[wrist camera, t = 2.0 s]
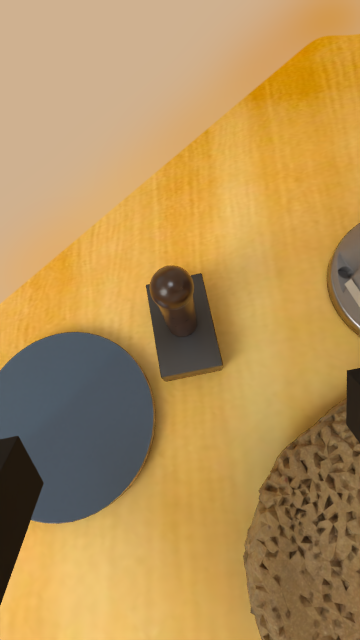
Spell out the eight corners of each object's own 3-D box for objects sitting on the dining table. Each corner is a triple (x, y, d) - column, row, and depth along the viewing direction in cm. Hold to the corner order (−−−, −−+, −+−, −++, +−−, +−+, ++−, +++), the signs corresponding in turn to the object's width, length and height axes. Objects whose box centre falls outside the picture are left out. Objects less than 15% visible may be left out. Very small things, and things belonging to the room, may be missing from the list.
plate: (86, 303, 39) (82, 299, 37) (193, 427, 33) (192, 427, 32) (-47, 412, 36) (-56, 412, 35) (44, 567, 30) (38, 572, 29)
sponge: (335, 383, 34) (180, 528, 28) (395, 371, 27) (204, 563, 20) (426, 496, 32) (283, 678, 26) (517, 515, 25) (349, 777, 19)
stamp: (150, 294, 38) (119, 229, 26) (202, 282, 38) (196, 212, 26) (164, 381, 35) (137, 353, 23) (222, 370, 35) (225, 334, 23)
